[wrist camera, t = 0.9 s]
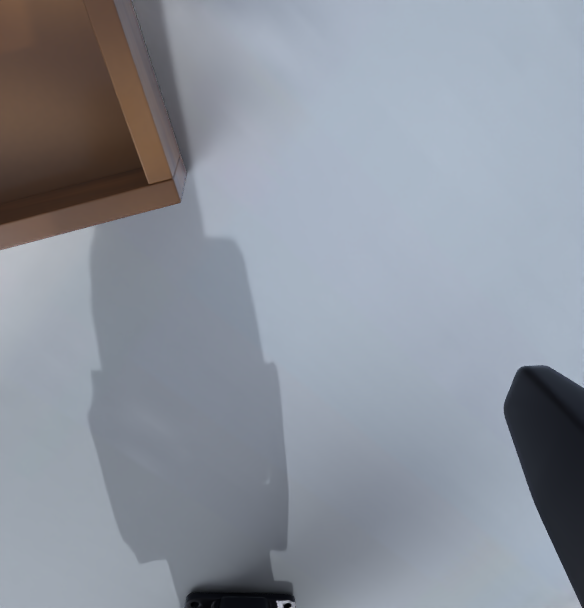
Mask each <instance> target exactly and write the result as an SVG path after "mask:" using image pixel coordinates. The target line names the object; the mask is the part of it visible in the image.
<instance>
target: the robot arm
mask: <svg viewBox="0 0 584 608" xmlns="http://www.w3.org/2000/svg"><path fill="white" fill-rule="evenodd" d="M504 415H505V419H506V422H507V425H508V428H509V431H510V434H511V437H512V440H513V443H514V446H515V448H516V451H517V454H518V457H519V460H520V463H521V466H522V469H523V472H524V475H525V478H526V481H527V484H528V487H529V490H530V492H531V495H532V498H533V500H534V503H535V505H536V508H537V510H538V512H539V515H540V517H541V519H542V521H543V524H544V526H545V528H546V530H547V532H548V535H549V537H550V539H551V541H552V543H553V545H554V548H555V550H556V552H557V554H558V556H559V558H560V561H561V563H562V565H563V567H564V569H565V571H566V574H567V576H568V578H569V580H570V582H571V585H572V587H573V589H574V591H575V593H576V595H577V598H578V600H579V602H580V604H581V606H582V608H584V388H583V387H581V386H579V385H578V384H576V383H575V382H573V381H571V380H570V379H568V378H567V377H565V376H563V375H562V374H560V373H558V372H557V371H555V370H554V369H552V368H550V367H548V366H544V365H538V366H523V367H521V368H520V369H519V370H518V371H517V372H516V375H515V377H514V380H513V382H512V384H511V387H510V389H509V392H508V394H507V397H506V399H505V403H504ZM185 608H295V598H294V596H292V595H290V594H249V593H200V592H196V593H191V594H189V595H188V596H187V598H186V603H185Z"/></svg>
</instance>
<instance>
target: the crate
mask: <svg viewBox="0 0 584 608" xmlns="http://www.w3.org/2000/svg"><path fill="white" fill-rule="evenodd" d="M186 175H187V172H186V169H185V166H184V163H183V160H182V157H181V153H180V150H179V147H178V144H177V141H176V138H175V135H174V132H173V129H172V126H171V122H170V119H169V116H168V113H167V110H166V107H165V104H164V101H163V98H162V94H161V91H160V88H159V85H158V82H157V79H156V76H155V73H154V70H153V66H152V63H151V60H150V57H149V54H148V51H147V48H146V45H145V42H144V38H143V35H142V32H141V29H140V26H139V23H138V20H137V17H136V14H135V10H134V7H133V4H132V1H131V0H0V250H3V249H6V248H10V247H14V246H18V245H22V244H25V243H29V242H33V241H37V240H41V239H44V238H48V237H52V236H56V235H60V234H64V233H67V232H71V231H75V230H79V229H83V228H86V227H90V226H94V225H98V224H102V223H105V222H109V221H113V220H117V219H121V218H124V217H128V216H132V215H136V214H140V213H143V212H147V211H151V210H155V209H159V208H163V207H166V206H170V205H174V204H178V203H180V202H181V199H182V194H183V189H184V185H185V180H186Z"/></svg>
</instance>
